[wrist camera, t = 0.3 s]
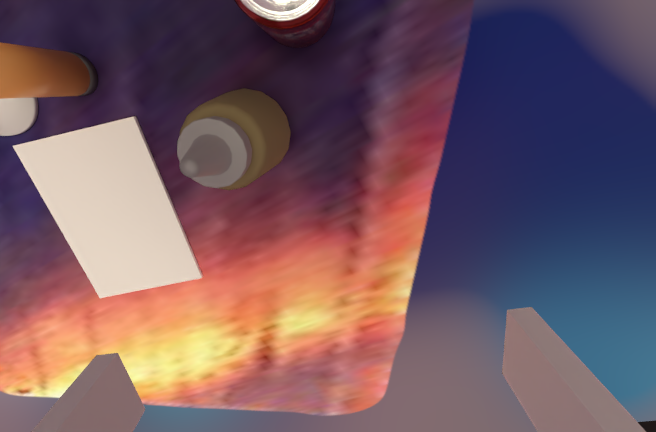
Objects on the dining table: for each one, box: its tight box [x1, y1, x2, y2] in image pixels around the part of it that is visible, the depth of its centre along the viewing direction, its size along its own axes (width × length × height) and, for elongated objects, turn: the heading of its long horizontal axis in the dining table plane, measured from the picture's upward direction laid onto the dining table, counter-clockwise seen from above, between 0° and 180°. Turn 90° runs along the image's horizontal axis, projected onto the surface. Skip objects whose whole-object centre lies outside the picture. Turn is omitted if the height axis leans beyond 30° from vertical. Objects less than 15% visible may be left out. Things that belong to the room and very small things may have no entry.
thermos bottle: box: [0, 43, 98, 99], centre depth 26 cm, size 4×4×14 cm
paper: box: [13, 116, 203, 298], centre depth 38 cm, size 20×14×1 cm
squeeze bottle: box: [177, 88, 291, 190], centre depth 26 cm, size 8×8×18 cm
